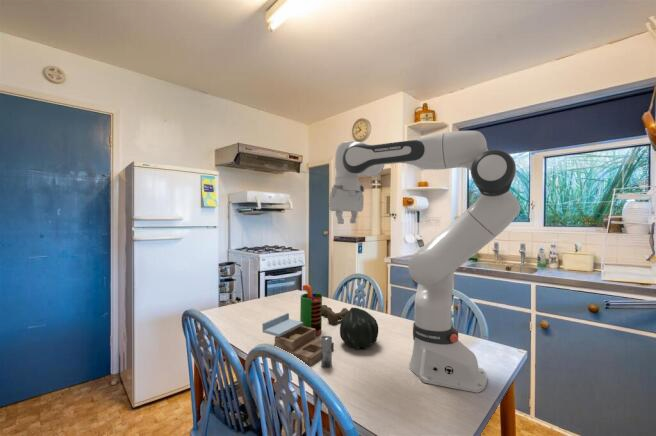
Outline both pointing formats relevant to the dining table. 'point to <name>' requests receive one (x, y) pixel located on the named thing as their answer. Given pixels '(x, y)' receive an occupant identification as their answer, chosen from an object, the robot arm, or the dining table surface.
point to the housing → (301, 344)
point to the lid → (280, 325)
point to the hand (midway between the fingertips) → (347, 223)
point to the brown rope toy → (333, 314)
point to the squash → (358, 329)
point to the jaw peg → (326, 351)
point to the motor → (311, 309)
